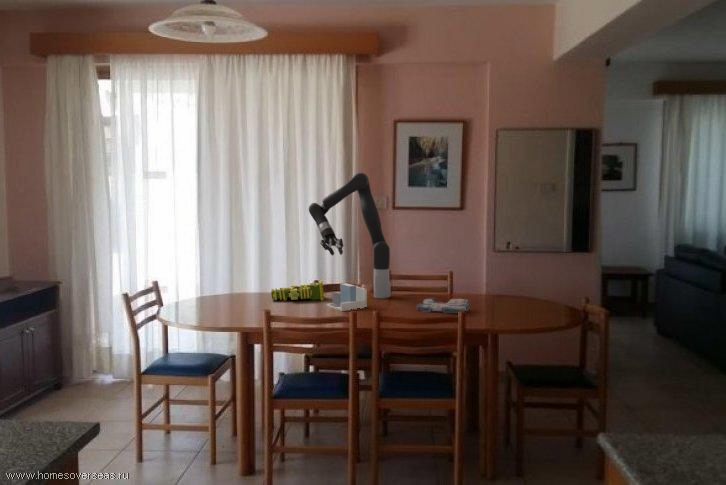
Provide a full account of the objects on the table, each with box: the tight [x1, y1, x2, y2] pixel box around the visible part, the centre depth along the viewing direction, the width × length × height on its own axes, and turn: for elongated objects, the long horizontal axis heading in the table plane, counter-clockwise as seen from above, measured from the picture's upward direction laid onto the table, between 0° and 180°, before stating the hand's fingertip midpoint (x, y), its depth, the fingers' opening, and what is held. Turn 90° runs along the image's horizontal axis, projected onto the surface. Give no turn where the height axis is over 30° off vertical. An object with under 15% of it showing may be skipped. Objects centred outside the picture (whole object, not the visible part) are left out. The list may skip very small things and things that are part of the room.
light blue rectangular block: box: [339, 283, 357, 303], centre depth 340 cm, size 4×10×11 cm, turn 33°
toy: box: [270, 280, 325, 302], centre depth 362 cm, size 17×10×30 cm
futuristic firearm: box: [416, 297, 471, 314], centre depth 332 cm, size 6×28×20 cm
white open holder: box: [326, 285, 368, 312], centre depth 340 cm, size 16×16×10 cm
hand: (337, 254), depth 347 cm, fingers open, 5 cm apart
